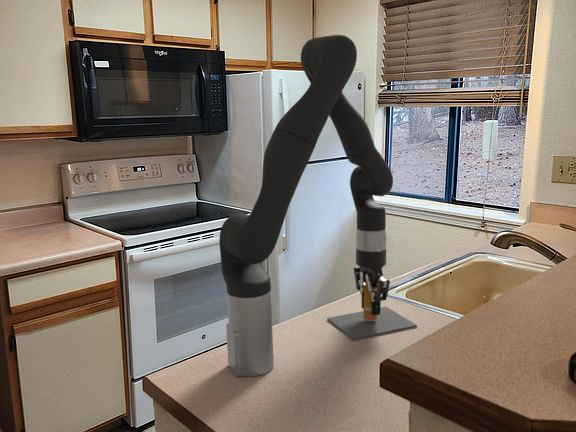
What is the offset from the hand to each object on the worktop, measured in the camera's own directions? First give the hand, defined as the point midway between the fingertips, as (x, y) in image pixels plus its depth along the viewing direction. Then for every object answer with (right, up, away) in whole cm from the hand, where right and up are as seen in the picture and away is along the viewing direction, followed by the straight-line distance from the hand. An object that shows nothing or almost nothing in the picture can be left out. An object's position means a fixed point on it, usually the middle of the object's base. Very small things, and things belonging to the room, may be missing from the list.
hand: (370, 311), depth 135 cm
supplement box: (0, -2, 0) cm, 2 cm away
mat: (0, -3, +1) cm, 3 cm away
